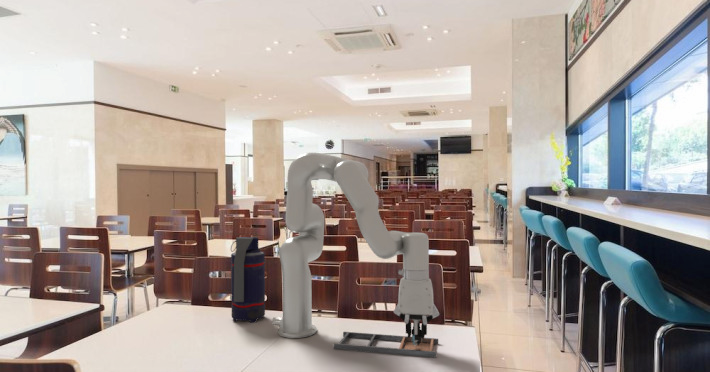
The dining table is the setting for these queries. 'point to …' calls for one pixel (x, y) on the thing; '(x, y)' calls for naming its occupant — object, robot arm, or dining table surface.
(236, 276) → the grenade
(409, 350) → the divided tray
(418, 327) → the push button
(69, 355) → the dining table surface
